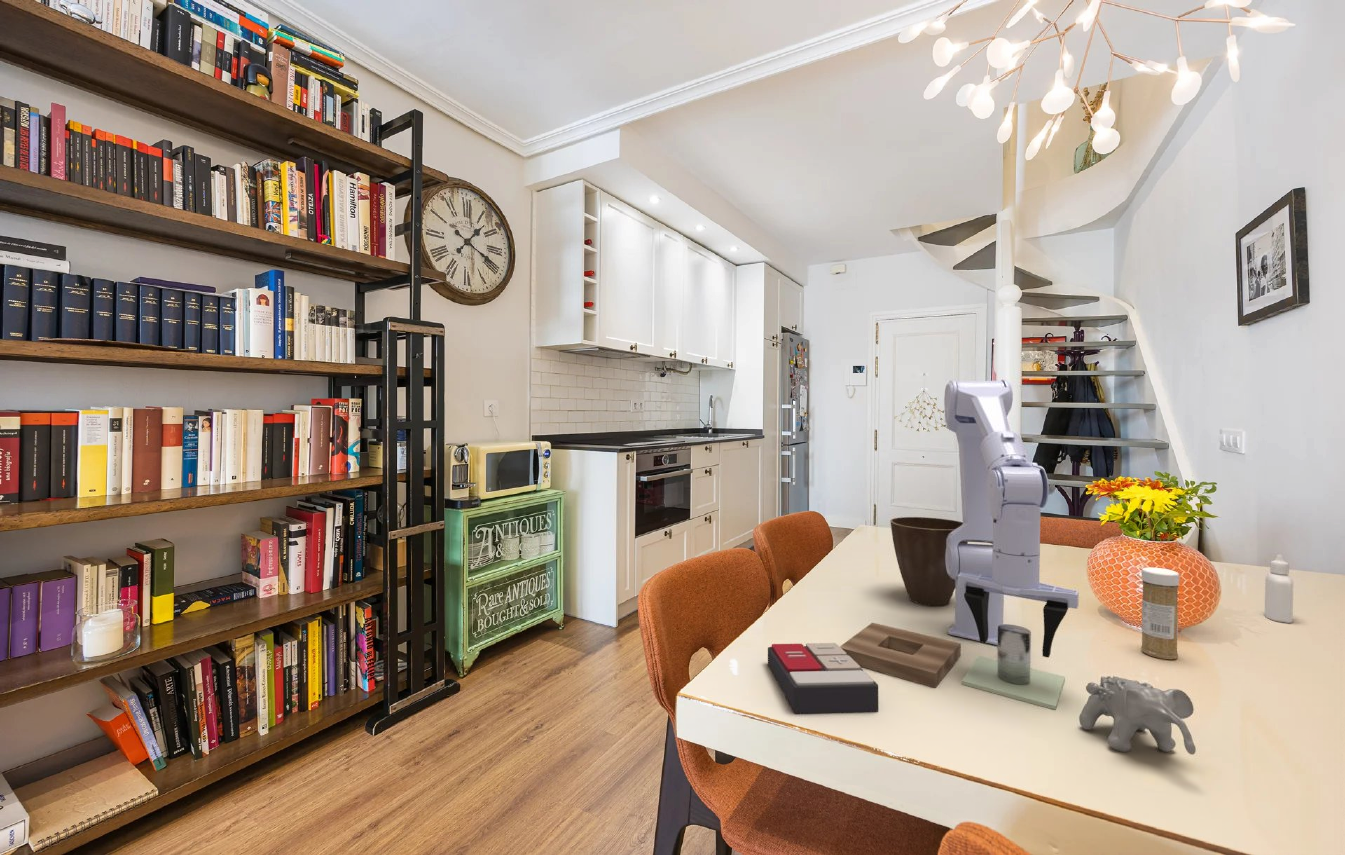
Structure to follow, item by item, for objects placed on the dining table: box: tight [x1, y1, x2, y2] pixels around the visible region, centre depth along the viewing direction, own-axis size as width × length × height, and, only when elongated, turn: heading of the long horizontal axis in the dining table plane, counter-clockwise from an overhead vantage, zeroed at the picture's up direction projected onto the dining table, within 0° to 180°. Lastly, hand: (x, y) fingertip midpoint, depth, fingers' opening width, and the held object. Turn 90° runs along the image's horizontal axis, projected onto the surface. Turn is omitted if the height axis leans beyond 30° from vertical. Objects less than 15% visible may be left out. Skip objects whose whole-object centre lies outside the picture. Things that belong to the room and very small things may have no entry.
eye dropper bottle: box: [1264, 554, 1294, 624], centre depth 108 cm, size 4×6×12 cm
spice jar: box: [1140, 566, 1180, 660], centre depth 91 cm, size 5×5×14 cm
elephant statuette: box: [1078, 675, 1196, 755], centre depth 65 cm, size 9×12×8 cm
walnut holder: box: [839, 622, 962, 689], centre depth 89 cm, size 14×14×2 cm
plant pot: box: [889, 516, 969, 607], centre depth 118 cm, size 15×15×16 cm
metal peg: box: [996, 623, 1032, 685], centre depth 81 cm, size 4×4×7 cm
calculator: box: [767, 642, 879, 715], centre depth 80 cm, size 11×4×15 cm
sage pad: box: [961, 655, 1066, 711], centre depth 81 cm, size 11×11×1 cm
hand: (1014, 647), depth 81 cm, fingers open, 7 cm apart
